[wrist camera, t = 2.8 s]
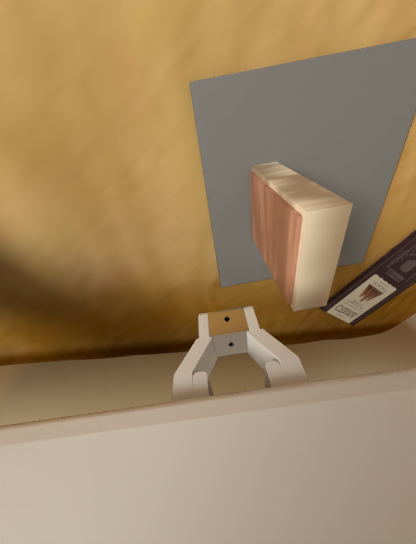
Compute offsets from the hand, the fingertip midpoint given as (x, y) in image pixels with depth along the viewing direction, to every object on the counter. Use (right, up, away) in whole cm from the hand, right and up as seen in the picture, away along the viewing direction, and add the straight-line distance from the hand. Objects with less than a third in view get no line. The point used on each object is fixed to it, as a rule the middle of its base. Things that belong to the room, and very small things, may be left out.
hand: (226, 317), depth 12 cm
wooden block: (+5, +10, +12) cm, 16 cm away
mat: (+9, +11, +12) cm, 19 cm away
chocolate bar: (+26, +2, +22) cm, 34 cm away
